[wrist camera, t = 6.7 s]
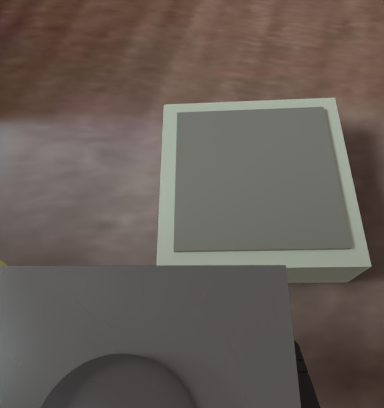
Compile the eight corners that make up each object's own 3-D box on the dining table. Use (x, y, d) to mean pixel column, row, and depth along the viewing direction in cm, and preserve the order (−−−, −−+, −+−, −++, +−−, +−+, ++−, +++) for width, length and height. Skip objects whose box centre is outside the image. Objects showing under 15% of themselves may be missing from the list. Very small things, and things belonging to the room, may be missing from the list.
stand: (165, 284, 24) (155, 268, 20) (170, 137, 29) (163, 101, 25) (347, 282, 23) (373, 265, 19) (319, 132, 28) (336, 94, 24)
